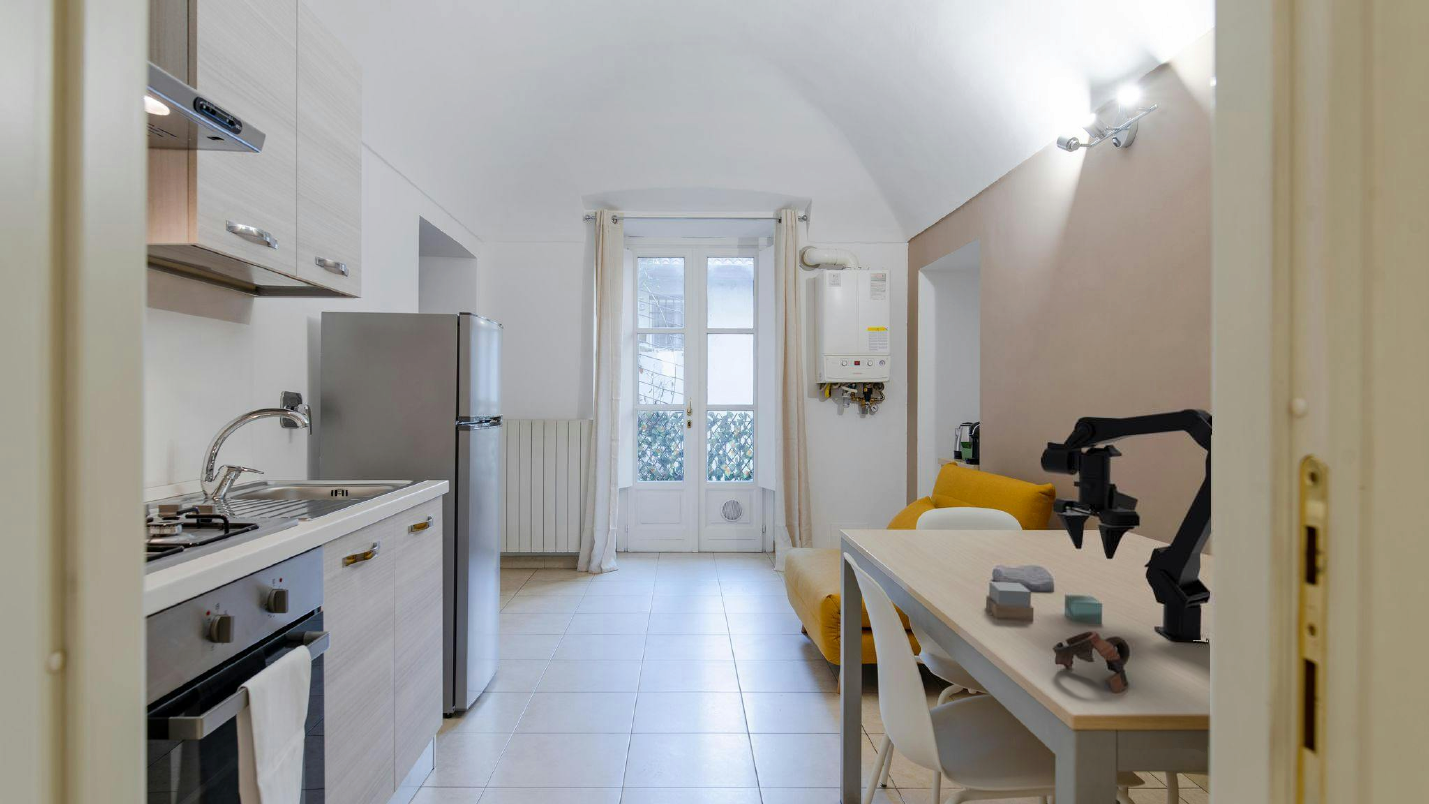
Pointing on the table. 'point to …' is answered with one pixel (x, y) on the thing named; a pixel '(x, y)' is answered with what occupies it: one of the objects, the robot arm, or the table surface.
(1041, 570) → the stone block
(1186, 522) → the robot arm
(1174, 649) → the table surface
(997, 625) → the table surface
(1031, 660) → the table surface
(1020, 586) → the grey middle block
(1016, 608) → the walnut base block
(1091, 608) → the teal block
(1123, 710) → the table surface
